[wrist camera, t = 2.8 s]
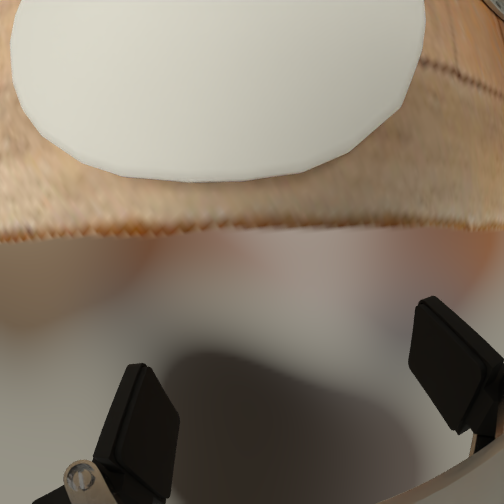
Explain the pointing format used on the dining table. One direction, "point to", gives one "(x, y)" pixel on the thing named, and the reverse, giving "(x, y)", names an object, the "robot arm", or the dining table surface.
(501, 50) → the dining table surface
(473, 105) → the dining table surface
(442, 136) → the dining table surface
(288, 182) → the dining table surface
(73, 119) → the plate
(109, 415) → the robot arm
